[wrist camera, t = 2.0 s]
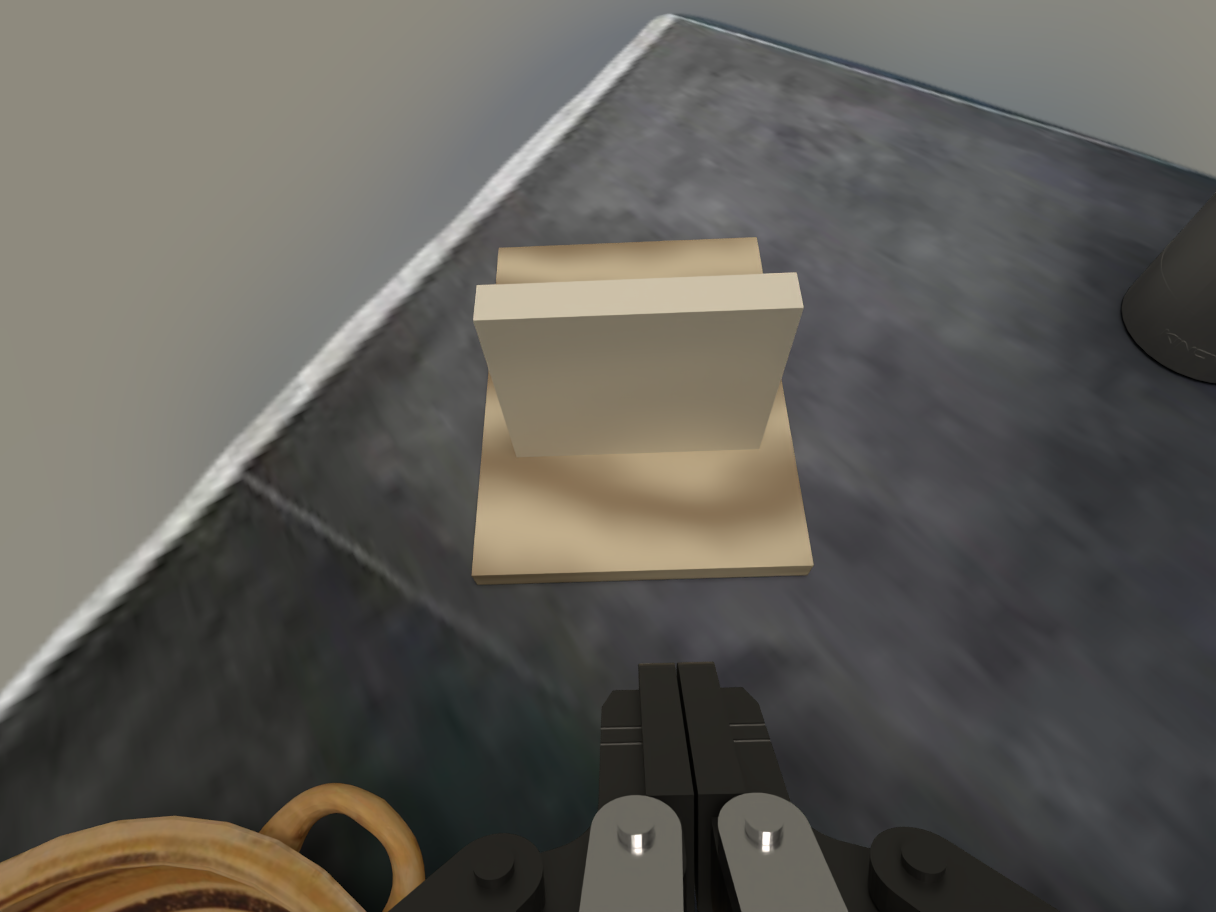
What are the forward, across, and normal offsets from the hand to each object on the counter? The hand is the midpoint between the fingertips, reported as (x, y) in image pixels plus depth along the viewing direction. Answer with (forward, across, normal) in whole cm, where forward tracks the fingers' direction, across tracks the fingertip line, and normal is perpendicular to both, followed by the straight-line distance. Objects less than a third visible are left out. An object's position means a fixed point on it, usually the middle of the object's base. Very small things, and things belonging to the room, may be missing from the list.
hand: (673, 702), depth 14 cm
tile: (+27, 0, +1) cm, 27 cm away
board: (+31, 0, 0) cm, 31 cm away
